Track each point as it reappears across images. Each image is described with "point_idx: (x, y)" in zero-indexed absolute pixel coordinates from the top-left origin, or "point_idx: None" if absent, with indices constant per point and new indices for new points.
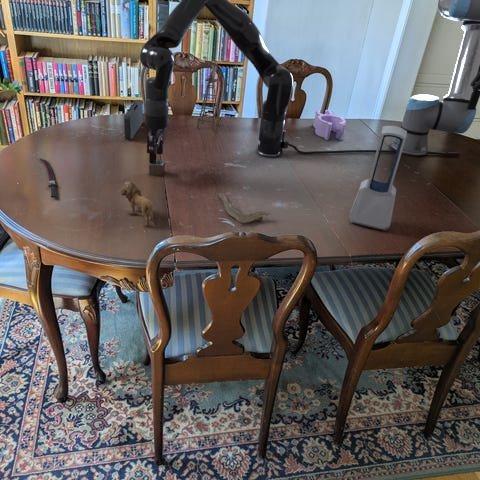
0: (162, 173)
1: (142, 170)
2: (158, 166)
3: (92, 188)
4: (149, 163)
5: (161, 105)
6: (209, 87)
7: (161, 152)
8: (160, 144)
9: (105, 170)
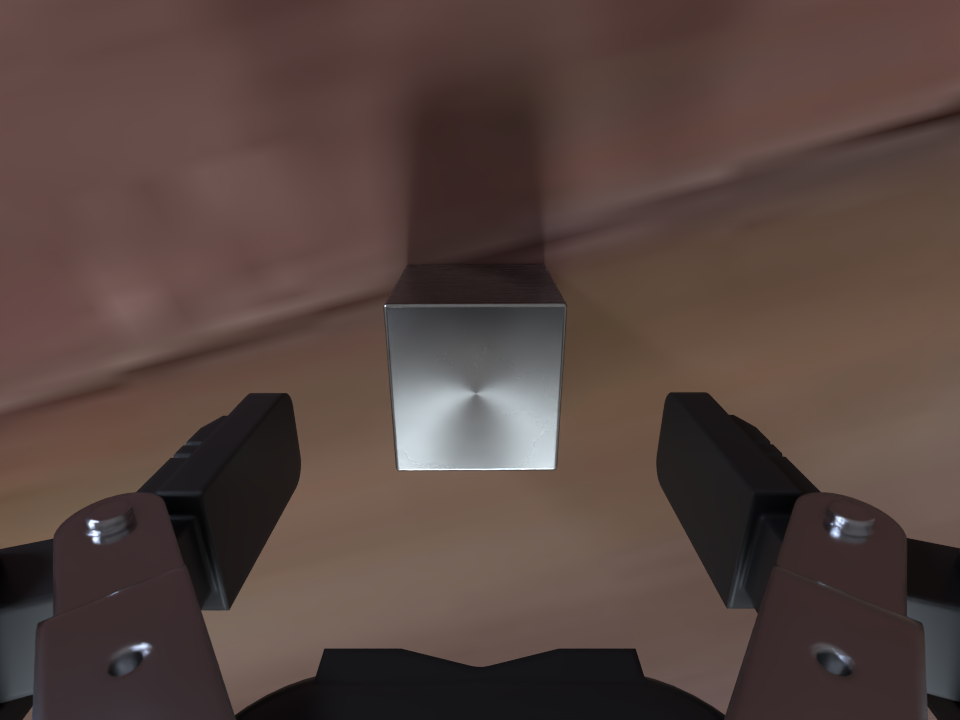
0: (522, 269)
1: (452, 479)
2: (562, 344)
3: None
4: (546, 469)
5: None
6: None
7: (277, 416)
8: (210, 531)
9: None
